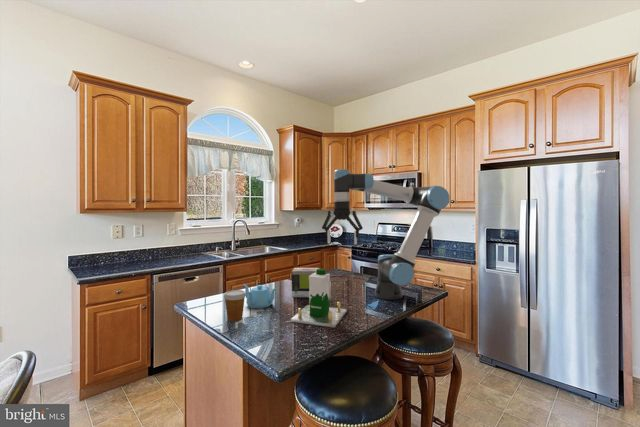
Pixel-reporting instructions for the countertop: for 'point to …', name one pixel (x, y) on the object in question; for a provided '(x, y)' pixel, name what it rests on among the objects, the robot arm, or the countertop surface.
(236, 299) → the disposable coffee cup
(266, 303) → the teapot
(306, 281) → the tea box
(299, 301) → the countertop surface
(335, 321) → the white flat square slab
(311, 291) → the milk carton
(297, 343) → the countertop surface
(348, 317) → the countertop surface
